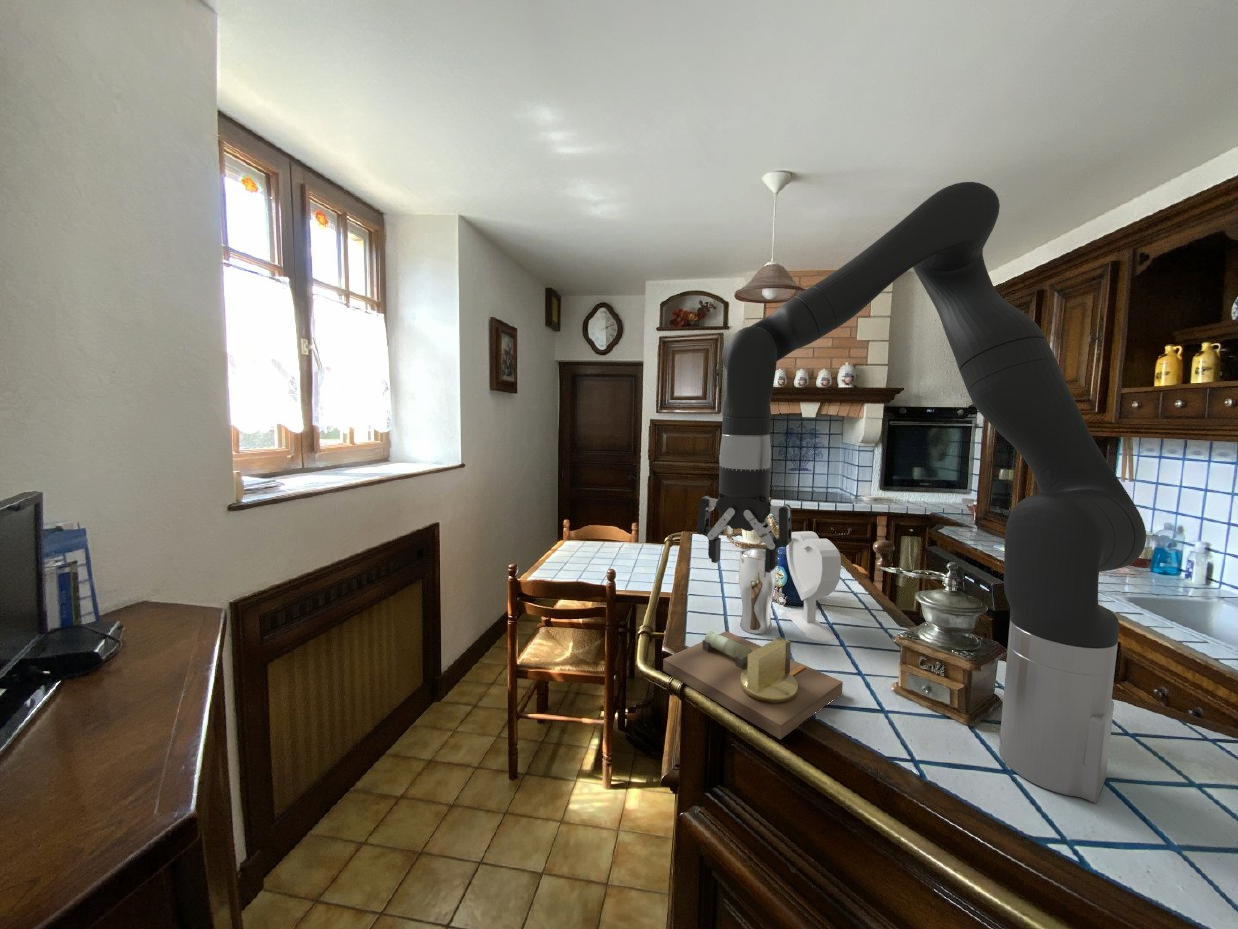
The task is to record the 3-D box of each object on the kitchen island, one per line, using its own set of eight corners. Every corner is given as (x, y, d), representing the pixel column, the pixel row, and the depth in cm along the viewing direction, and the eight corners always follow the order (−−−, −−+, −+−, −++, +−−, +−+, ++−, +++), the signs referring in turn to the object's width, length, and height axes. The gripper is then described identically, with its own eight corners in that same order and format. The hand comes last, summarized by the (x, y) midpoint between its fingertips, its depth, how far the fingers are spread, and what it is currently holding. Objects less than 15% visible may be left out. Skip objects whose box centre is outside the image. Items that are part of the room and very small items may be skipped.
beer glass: (770, 620, 100) (772, 548, 98) (778, 636, 93) (780, 559, 91) (735, 619, 100) (736, 547, 99) (740, 635, 94) (741, 558, 92)
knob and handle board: (842, 694, 74) (843, 664, 73) (780, 739, 64) (781, 705, 64) (726, 641, 91) (726, 616, 91) (663, 670, 81) (663, 643, 81)
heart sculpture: (780, 609, 105) (783, 526, 103) (803, 608, 105) (806, 526, 103) (815, 644, 90) (818, 547, 88) (842, 642, 90) (846, 546, 88)
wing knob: (761, 666, 78) (762, 630, 77) (808, 687, 72) (809, 648, 71) (729, 685, 73) (729, 646, 72) (777, 710, 67) (778, 668, 66)
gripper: (798, 464, 74) (794, 567, 77) (709, 458, 82) (707, 552, 84) (786, 470, 68) (781, 583, 70) (691, 463, 76) (689, 565, 78)
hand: (741, 566), depth 77 cm, fingers open, 8 cm apart
